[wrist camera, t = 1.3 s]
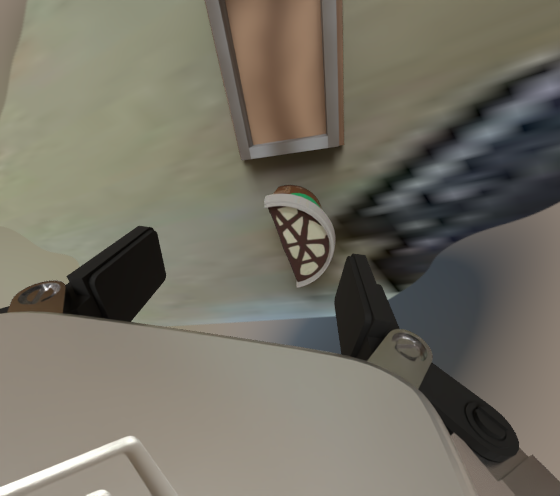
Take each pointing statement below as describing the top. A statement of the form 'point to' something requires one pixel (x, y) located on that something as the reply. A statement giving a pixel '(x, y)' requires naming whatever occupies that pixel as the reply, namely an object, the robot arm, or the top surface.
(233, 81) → the cradle
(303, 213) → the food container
